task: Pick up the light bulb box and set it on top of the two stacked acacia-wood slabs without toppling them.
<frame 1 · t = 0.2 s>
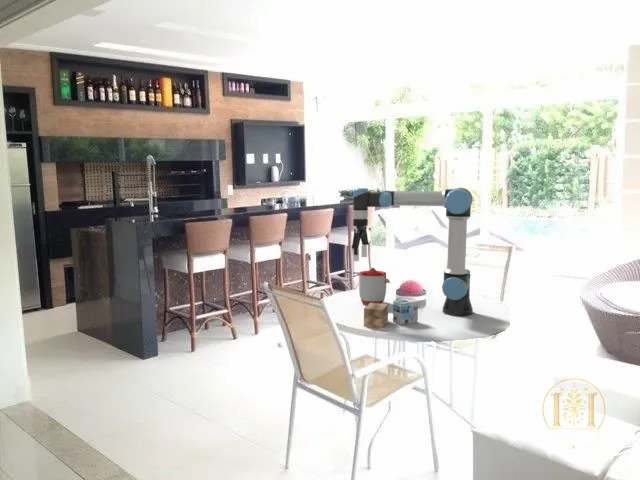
hand: (360, 259, 303), 28 cm above the table, fingers open, 13 cm apart
tower top: (376, 315, 283), point 4 cm above the table, touching tower base
light bulb box: (405, 322, 286), on the table
citrus juicer: (374, 303, 324), on the table
tower base: (376, 324, 283), on the table, touching tower top
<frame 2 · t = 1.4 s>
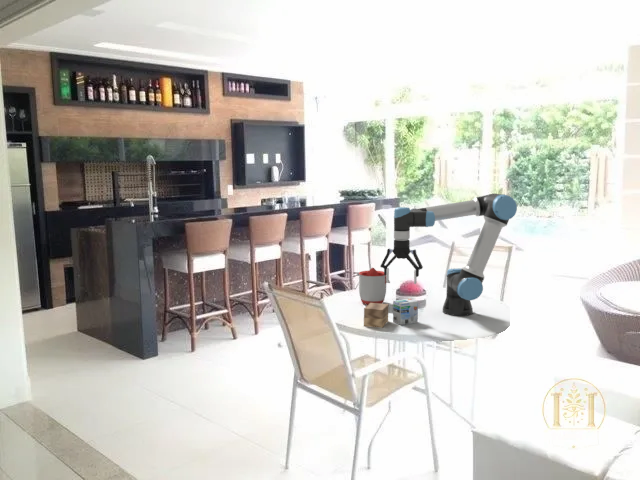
hand: (401, 282, 285), 19 cm above the table, fingers open, 13 cm apart
nothing on the table moved.
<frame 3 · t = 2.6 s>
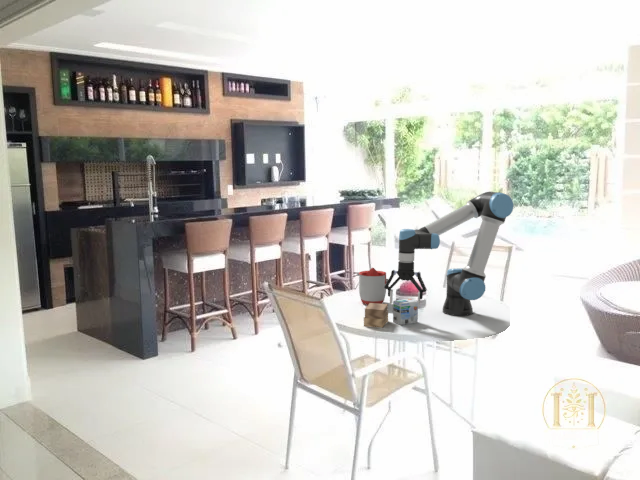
hand: (404, 304, 284), 9 cm above the table, fingers open, 13 cm apart
nothing on the table moved.
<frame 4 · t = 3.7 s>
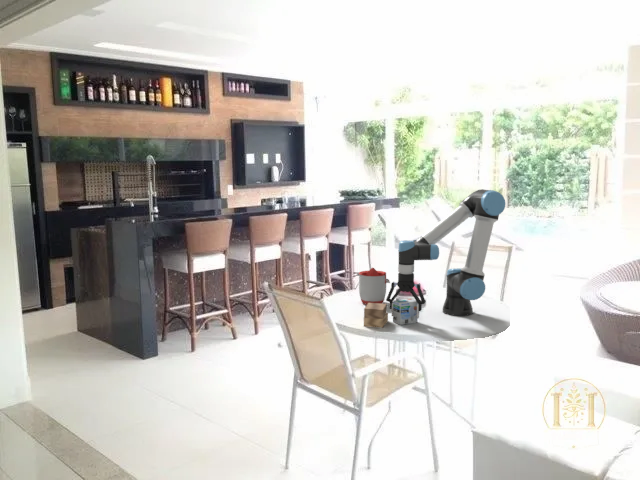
hand: (405, 316, 285), 3 cm above the table, fingers closed on light bulb box, 11 cm apart
light bulb box: (405, 322, 286), on the table, touching gripper
everything else where it was.
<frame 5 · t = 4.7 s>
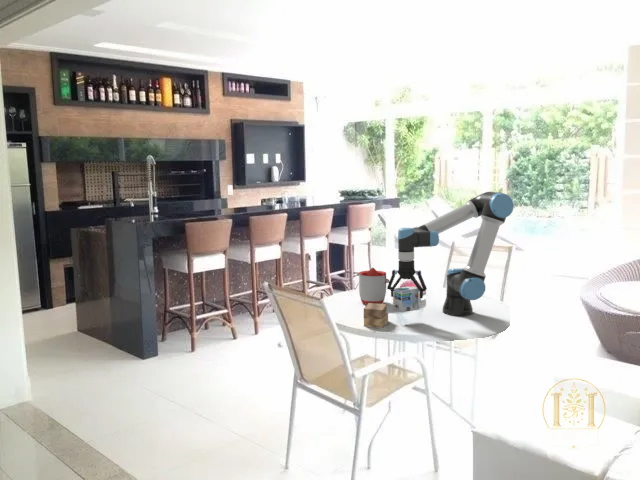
hand: (407, 304, 285), 9 cm above the table, fingers closed on light bulb box, 11 cm apart
light bulb box: (407, 310, 285), point 6 cm above the table, touching gripper
everything else where it was.
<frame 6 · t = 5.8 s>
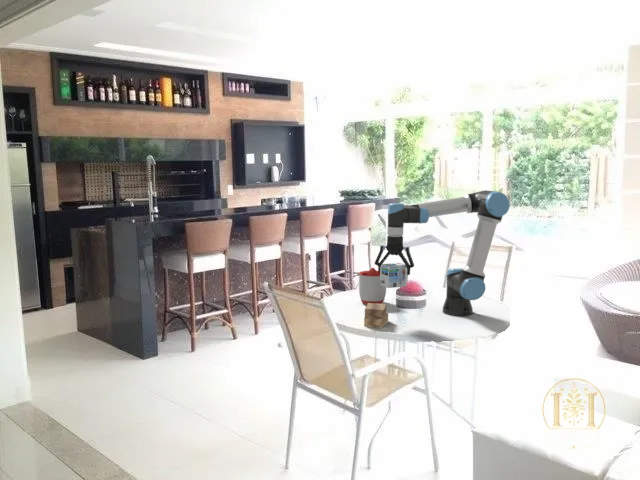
hand: (393, 280, 282), 21 cm above the table, fingers closed on light bulb box, 11 cm apart
light bulb box: (393, 286, 282), point 18 cm above the table, touching gripper
everything else where it was.
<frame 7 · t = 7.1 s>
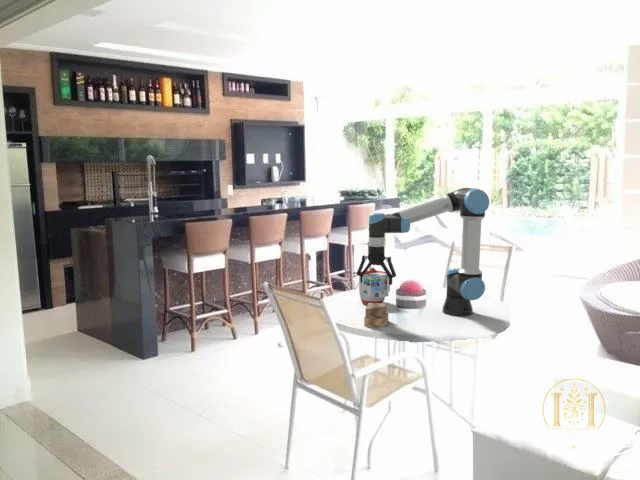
hand: (376, 290, 281), 16 cm above the table, fingers closed on light bulb box, 11 cm apart
light bulb box: (375, 296, 282), point 13 cm above the table, touching gripper
everything else where it was.
when the fingers open (13 cm above the table, at t = 8.3 s): light bulb box drops 2 cm, resting on tower top.
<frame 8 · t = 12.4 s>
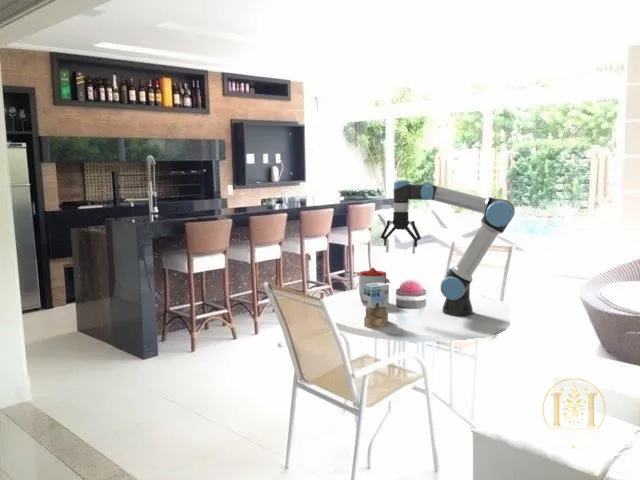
hand: (400, 252, 297), 32 cm above the table, fingers open, 13 cm apart
tower top: (376, 315, 283), point 4 cm above the table, touching light bulb box, tower base
light bulb box: (376, 306, 282), point 8 cm above the table, touching tower top
everything else where it was.
at the end: light bulb box 0.2 cm from the tower top (horizontally); light bulb box point 8.4 cm above the table; tower top tilted 0° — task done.
